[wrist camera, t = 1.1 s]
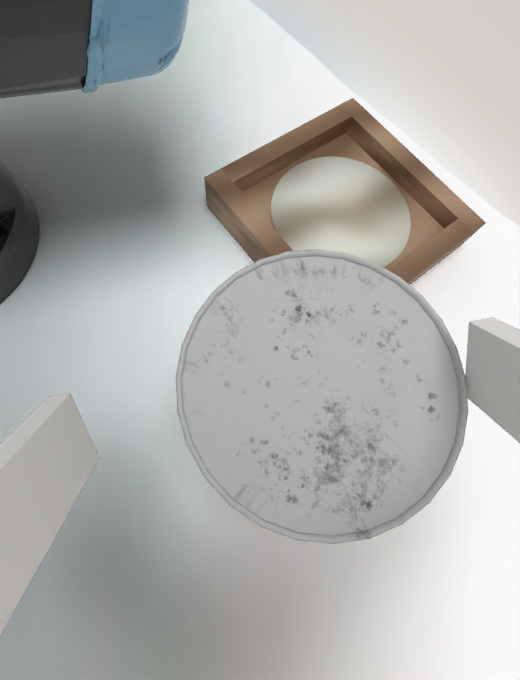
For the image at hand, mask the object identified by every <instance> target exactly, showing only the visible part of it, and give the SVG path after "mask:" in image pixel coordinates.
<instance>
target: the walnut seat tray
mask: <svg viewBox="0 0 520 680" xmlns="http://www.w3.org/2000/svg"><path fill="white" fill-rule="evenodd" d="M204 180H205V190H206V199H207V206H208V207H209V208H210V210H211V211H212V212H213V213H214V214H215V216H216V217H217V218H218V219H219V220H220V222H221V223H222V224H223V225H224V226H225V227H226V229H227V230H228V231H229V232H230V233H231V235H232V236H233V237H234V238H235V239H236V241H237V242H238V243H239V244H240V245H241V247H242V248H243V249H244V250H245V251H246V252H247V254H248V255H249V256H250V257H251V258H252V260H253V261H254V262H256V261H258V260H260V259H263V258H267V257H270V256H274V255H277V254H281V253H284V252H288V251H300V250H314V249H319V250H327V251H334V252H342V253H347V254H350V255H353V256H356V257H359V258H362V259H365V260H369V261H372V262H374V263H376V264H378V265H379V266H381V267H383V268H385V269H387V270H388V271H390V272H392V273H394V274H396V275H397V276H399V277H400V278H402V279H403V280H404V281H405V282H406V283H408V284H409V285H410V284H411V283H412V282H414V281H415V280H416V279H418V278H419V277H420V276H422V275H423V274H424V273H425V272H427V271H428V270H429V269H431V268H432V267H433V266H435V265H436V264H437V263H439V262H440V261H441V260H442V259H444V258H445V257H446V256H448V255H449V254H450V253H452V252H453V251H454V250H455V249H457V248H458V247H459V246H461V245H462V244H463V243H464V242H465V241H466V240H467V239H468V238H470V237H471V236H472V235H473V234H474V233H475V232H476V231H477V230H478V229H480V228H481V227H482V226H483V225H484V224H485V222H484V221H483V220H482V219H481V218H480V217H479V216H478V215H477V214H476V213H475V212H474V211H473V210H472V209H471V208H469V207H468V206H467V205H466V204H465V203H464V202H463V201H462V200H461V199H460V198H459V197H458V196H457V195H456V194H455V193H453V192H452V191H451V190H450V189H449V188H448V187H447V186H446V185H445V184H444V183H443V182H442V181H441V180H440V179H439V178H438V177H436V176H435V175H434V174H433V173H432V172H431V171H430V170H429V169H428V168H427V167H426V166H425V165H424V164H423V163H422V162H420V161H419V160H418V159H417V158H416V157H415V156H414V155H413V154H412V153H411V152H410V151H409V150H408V149H407V148H406V147H405V146H403V145H402V144H401V143H400V142H399V141H398V140H397V139H396V138H395V137H394V136H393V135H392V134H391V133H390V132H389V131H387V130H386V129H385V128H384V127H383V126H382V125H381V124H380V123H379V122H378V121H377V120H376V119H375V118H374V117H373V116H372V115H370V114H369V113H368V112H367V111H366V110H365V109H364V108H363V107H362V106H361V105H360V104H359V103H358V102H357V101H356V100H354V99H353V98H352V99H350V100H348V101H346V102H344V103H342V104H341V105H339V106H337V107H335V108H333V109H331V110H329V111H328V112H326V113H324V114H322V115H320V116H318V117H316V118H314V119H313V120H311V121H309V122H307V123H305V124H303V125H301V126H300V127H298V128H296V129H294V130H292V131H290V132H288V133H286V134H285V135H283V136H281V137H279V138H277V139H275V140H273V141H272V142H270V143H268V144H266V145H264V146H262V147H260V148H258V149H257V150H255V151H253V152H251V153H249V154H247V155H245V156H244V157H242V158H240V159H238V160H236V161H234V162H232V163H230V164H229V165H227V166H225V167H223V168H221V169H219V170H217V171H216V172H214V173H212V174H210V175H208V176H206V177H204Z"/></svg>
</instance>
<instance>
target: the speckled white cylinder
mask: <svg viewBox="0 0 520 680" xmlns="http://www.w3.org/2000/svg"><path fill="white" fill-rule="evenodd" d="M176 389H177V411H178V415H179V418H180V422H181V425H182V429H183V433H184V436H185V440H186V443H187V446H188V448H189V450H190V452H191V453H192V455H193V457H194V459H195V461H196V462H197V464H198V466H199V468H200V470H201V472H202V473H203V475H204V477H205V478H206V479H207V480H208V482H209V483H210V484H211V485H212V486H213V487H214V488H215V489H216V490H217V492H218V493H219V494H220V495H221V496H222V497H223V498H224V499H225V500H226V501H227V503H228V504H229V505H230V506H232V507H233V508H235V509H236V510H238V511H239V512H241V513H242V514H243V515H245V516H246V517H248V518H249V519H251V520H252V521H254V522H255V523H257V524H258V525H260V526H261V527H264V528H266V529H269V530H272V531H274V532H277V533H280V534H282V535H285V536H288V537H290V538H293V539H296V540H303V541H312V542H321V543H330V544H336V543H343V542H350V541H356V540H363V539H370V538H372V537H374V536H377V535H379V534H381V533H383V532H386V531H388V530H390V529H393V528H395V527H397V526H400V525H402V524H403V523H405V522H406V521H407V520H408V519H410V518H411V517H412V516H413V515H415V514H416V513H417V512H418V511H420V510H421V509H422V508H423V507H425V506H426V505H427V504H428V503H430V502H431V500H432V499H433V498H434V496H435V495H436V494H437V492H438V491H439V490H440V488H441V487H442V485H443V484H444V483H445V481H446V480H447V479H448V477H449V476H450V475H451V472H452V470H453V467H454V465H455V462H456V460H457V458H458V455H459V453H460V450H461V448H462V445H463V441H464V435H465V428H466V422H467V415H468V403H467V388H466V378H465V374H464V371H463V368H462V364H461V361H460V357H459V354H458V350H457V347H456V346H455V344H454V342H453V340H452V338H451V336H450V334H449V332H448V330H447V328H446V327H445V325H444V323H443V321H442V319H441V318H440V317H439V316H438V315H437V313H436V312H435V311H434V310H433V308H432V307H431V306H430V305H429V303H428V302H427V301H426V300H425V298H424V297H423V296H422V295H421V294H419V293H418V292H417V291H416V290H415V289H413V288H412V287H411V286H410V285H409V284H408V283H406V282H405V281H404V280H403V279H402V278H400V277H399V276H397V275H396V274H394V273H392V272H390V271H388V270H387V269H385V268H383V267H381V266H379V265H378V264H376V263H374V262H372V261H369V260H365V259H362V258H359V257H356V256H353V255H350V254H347V253H342V252H334V251H327V250H319V249H314V250H300V251H288V252H284V253H281V254H277V255H274V256H270V257H267V258H263V259H260V260H258V261H256V262H255V263H253V264H251V265H249V266H247V267H245V268H243V269H241V270H240V271H238V272H236V273H234V274H233V275H232V276H231V277H230V278H229V279H227V280H226V281H225V282H224V283H223V284H222V285H220V286H219V287H218V288H217V289H216V290H215V291H213V292H212V294H211V295H210V296H209V298H208V299H207V300H206V302H205V303H204V304H203V306H202V307H201V308H200V310H199V311H198V312H197V314H196V315H195V316H194V319H193V321H192V323H191V326H190V328H189V330H188V332H187V335H186V337H185V339H184V342H183V344H182V347H181V353H180V358H179V364H178V369H177V374H176Z"/></svg>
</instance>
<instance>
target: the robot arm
mask: <svg viewBox="0 0 520 680" xmlns="http://www.w3.org/2000/svg"><path fill="white" fill-rule="evenodd" d="M188 3H189V0H0V98H7V97H16V96H24V95H33V94H41V93H50V92H59V91H67V90H76V89H82V91H83V93H88V92H93V91H95V90H96V89H97V87H98V85H101V84H107V83H112V82H118V81H123V80H129V79H134V78H140V77H145V76H151V75H155V74H157V73H159V72H161V71H163V70H164V69H165V68H166V67H167V66H168V65H169V64H170V63H171V62H172V61H173V59H174V57H175V55H176V53H177V52H178V50H179V47H180V44H181V41H182V37H183V33H184V30H185V25H186V19H187V12H188ZM38 231H39V227H38V218H37V214H36V210H35V208H34V205H33V203H32V201H31V199H30V197H29V196H28V194H27V193H26V192H25V190H24V189H23V188H22V186H21V185H20V184H19V183H18V182H17V180H16V179H15V178H14V177H13V175H12V174H11V173H10V172H9V171H8V169H7V168H6V167H5V166H4V165H2V164H1V163H0V302H1V301H2V300H3V299H4V298H5V297H6V296H7V295H8V294H9V293H10V292H11V291H12V290H13V289H14V288H15V287H16V285H17V284H18V283H19V282H20V280H21V279H22V277H23V276H24V274H25V273H26V271H27V269H28V268H29V266H30V264H31V261H32V259H33V256H34V254H35V250H36V247H37V242H38ZM465 378H466V388H467V398H468V399H470V400H471V401H472V402H473V403H474V404H475V405H476V406H478V407H479V408H480V409H481V410H482V411H483V412H485V413H486V414H487V415H488V416H489V417H490V418H491V419H493V420H494V421H495V422H496V423H497V424H498V425H500V426H501V427H502V428H503V429H504V430H505V431H506V432H508V433H509V434H510V435H511V436H512V437H513V438H515V439H516V440H517V441H518V442H519V443H520V330H519V329H517V328H515V327H513V326H510V325H508V324H506V323H504V322H502V321H500V320H497V319H495V318H487V319H482V320H476V321H470V322H469V330H468V345H467V360H466V375H465ZM99 459H100V458H99V456H98V453H97V451H96V449H95V447H94V444H93V442H92V440H91V438H90V436H89V433H88V431H87V429H86V427H85V424H84V422H83V420H82V418H81V416H80V413H79V411H78V409H77V407H76V404H75V402H74V400H73V398H72V396H71V393H66V394H61V395H55V396H50V397H47V398H46V399H45V400H44V401H43V402H42V403H41V404H40V405H39V406H38V407H37V408H36V409H35V410H34V411H33V412H32V413H31V414H30V415H29V416H28V417H27V418H26V419H25V420H24V421H23V422H22V423H21V424H20V425H19V426H18V427H17V428H16V429H15V430H14V431H13V432H12V433H11V434H10V435H9V436H8V437H7V438H6V439H5V440H4V441H3V442H2V443H1V444H0V635H1V633H2V632H3V630H4V628H5V626H6V625H7V623H8V621H9V619H10V617H11V616H12V614H13V612H14V610H15V608H16V607H17V605H18V603H19V601H20V600H21V598H22V596H23V594H24V592H25V591H26V589H27V587H28V585H29V583H30V582H31V580H32V578H33V576H34V575H35V573H36V571H37V569H38V567H39V566H40V564H41V562H42V560H43V558H44V557H45V555H46V553H47V551H48V550H49V548H50V546H51V544H52V542H53V541H54V539H55V537H56V535H57V533H58V532H59V530H60V528H61V526H62V525H63V523H64V521H65V519H66V517H67V516H68V514H69V512H70V510H71V508H72V507H73V505H74V503H75V501H76V500H77V498H78V496H79V494H80V492H81V491H82V489H83V487H84V485H85V484H86V482H87V480H88V478H89V476H90V475H91V473H92V471H93V469H94V467H95V466H96V464H97V462H98V460H99Z"/></svg>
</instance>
